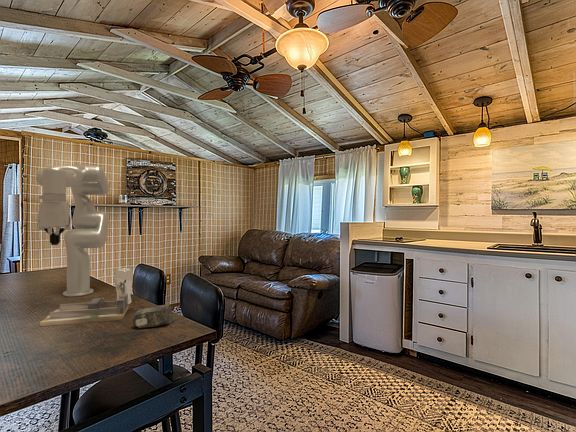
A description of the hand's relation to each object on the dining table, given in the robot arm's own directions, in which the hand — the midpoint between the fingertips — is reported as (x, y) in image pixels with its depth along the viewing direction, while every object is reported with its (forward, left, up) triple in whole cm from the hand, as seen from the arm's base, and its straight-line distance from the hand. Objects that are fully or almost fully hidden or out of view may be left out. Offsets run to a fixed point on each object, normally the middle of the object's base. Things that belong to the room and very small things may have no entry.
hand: (54, 244), depth 131 cm
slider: (+11, +17, -25) cm, 32 cm away
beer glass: (-6, +24, -27) cm, 37 cm away
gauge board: (+9, +14, -27) cm, 32 cm away
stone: (+26, +39, -27) cm, 55 cm away
